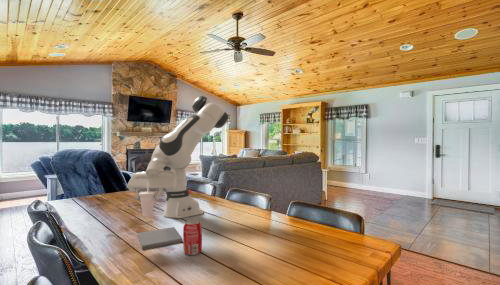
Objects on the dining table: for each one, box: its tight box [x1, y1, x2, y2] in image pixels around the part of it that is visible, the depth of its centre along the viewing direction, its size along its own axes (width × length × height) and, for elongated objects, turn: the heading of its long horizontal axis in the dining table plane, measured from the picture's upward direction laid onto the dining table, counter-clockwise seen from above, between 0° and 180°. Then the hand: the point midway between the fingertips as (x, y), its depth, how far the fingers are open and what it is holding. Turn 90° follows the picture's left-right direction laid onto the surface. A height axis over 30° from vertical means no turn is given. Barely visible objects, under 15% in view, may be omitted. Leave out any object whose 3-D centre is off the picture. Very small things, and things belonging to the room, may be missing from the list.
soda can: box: [182, 218, 203, 256], centre depth 100 cm, size 7×7×12 cm
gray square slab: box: [137, 226, 183, 250], centre depth 113 cm, size 16×16×2 cm
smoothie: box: [139, 182, 157, 218], centre depth 106 cm, size 6×6×14 cm
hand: (146, 199), depth 106 cm, fingers closed on smoothie, 6 cm apart
